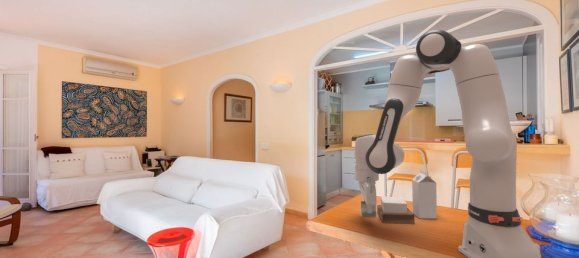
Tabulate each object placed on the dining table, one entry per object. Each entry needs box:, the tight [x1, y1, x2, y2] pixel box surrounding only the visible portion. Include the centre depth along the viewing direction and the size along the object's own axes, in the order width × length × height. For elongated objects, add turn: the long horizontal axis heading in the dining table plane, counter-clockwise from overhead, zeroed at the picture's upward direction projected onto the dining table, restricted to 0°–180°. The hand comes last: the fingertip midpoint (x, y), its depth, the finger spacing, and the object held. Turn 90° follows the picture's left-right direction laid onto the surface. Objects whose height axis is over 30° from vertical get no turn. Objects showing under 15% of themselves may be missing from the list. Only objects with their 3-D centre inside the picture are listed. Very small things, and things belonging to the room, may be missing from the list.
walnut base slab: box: [376, 204, 415, 225], centre depth 110 cm, size 12×12×4 cm
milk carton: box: [411, 169, 438, 220], centre depth 111 cm, size 7×7×19 cm
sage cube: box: [360, 200, 377, 219], centre depth 103 cm, size 5×5×5 cm
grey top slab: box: [380, 196, 408, 214], centre depth 110 cm, size 9×9×4 cm
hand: (368, 210), depth 104 cm, fingers closed on sage cube, 5 cm apart
